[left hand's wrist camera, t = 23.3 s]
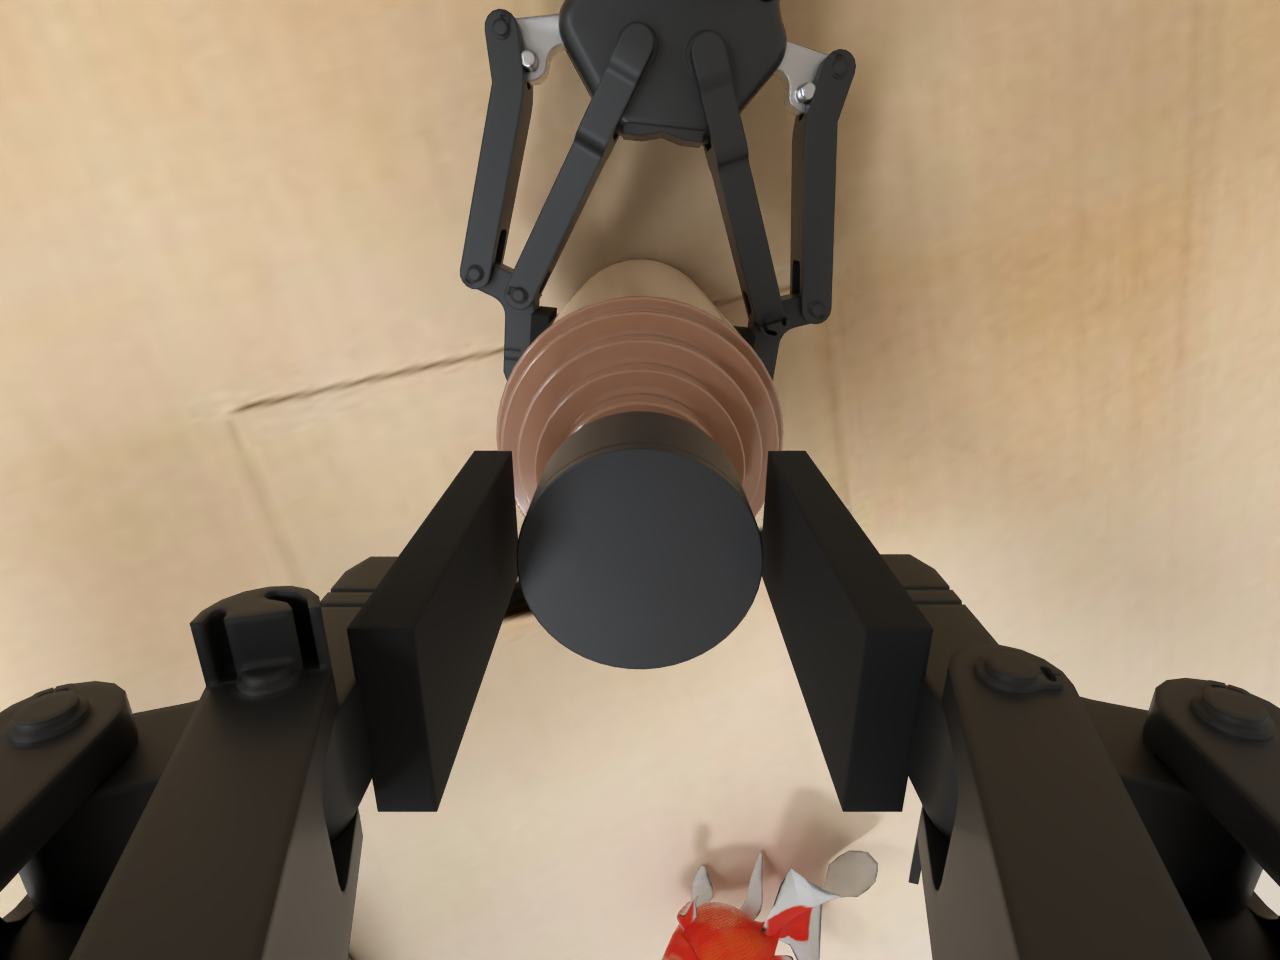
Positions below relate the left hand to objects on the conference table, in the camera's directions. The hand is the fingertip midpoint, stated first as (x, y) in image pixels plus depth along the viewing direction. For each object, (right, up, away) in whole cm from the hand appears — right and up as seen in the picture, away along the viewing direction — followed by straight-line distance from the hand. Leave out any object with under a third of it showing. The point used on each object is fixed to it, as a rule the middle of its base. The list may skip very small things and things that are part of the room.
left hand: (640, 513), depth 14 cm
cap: (0, -1, -2) cm, 2 cm away
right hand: (0, +1, +18) cm, 18 cm away
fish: (+8, -27, +35) cm, 44 cm away
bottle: (0, +8, +22) cm, 23 cm away
